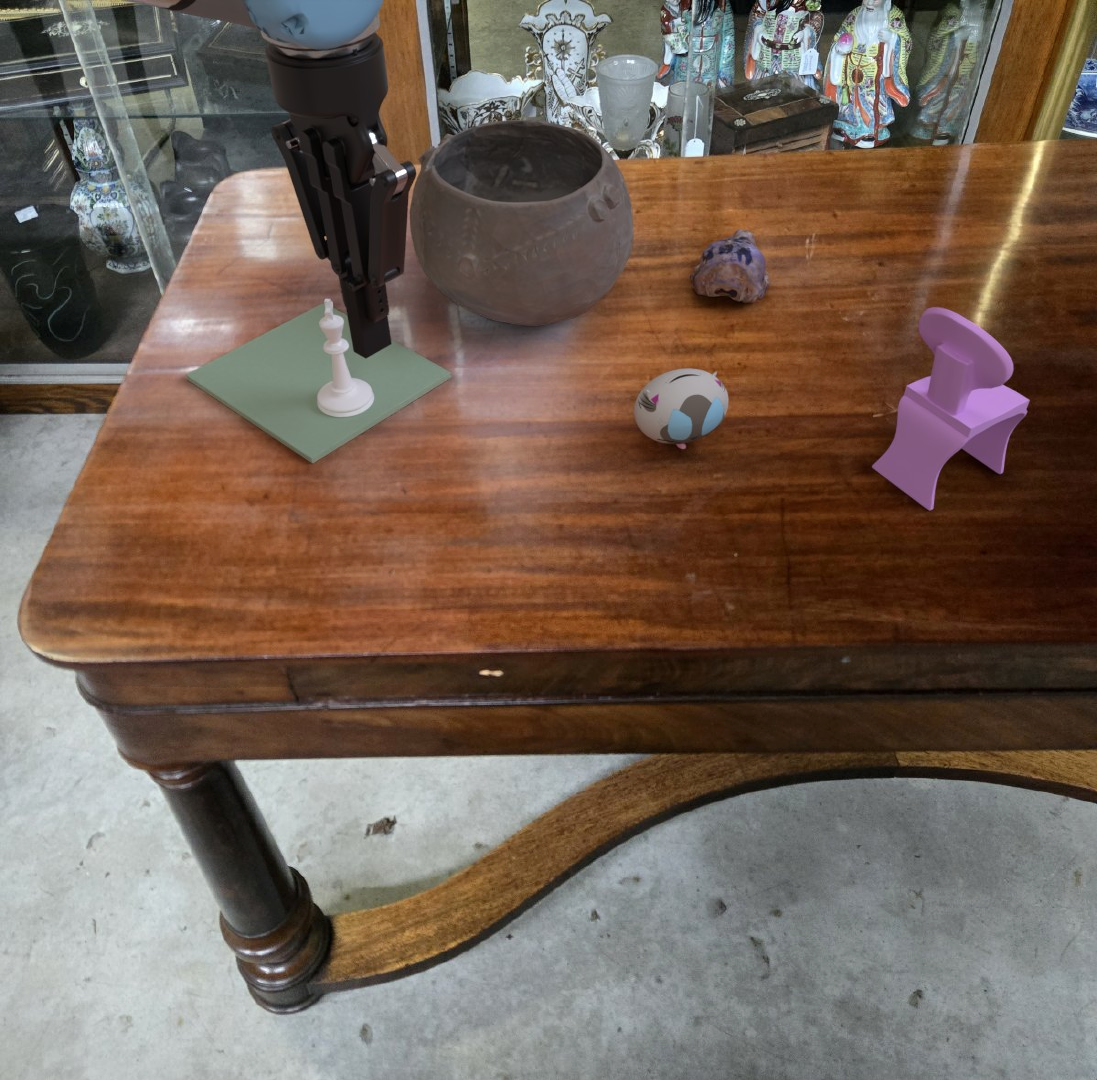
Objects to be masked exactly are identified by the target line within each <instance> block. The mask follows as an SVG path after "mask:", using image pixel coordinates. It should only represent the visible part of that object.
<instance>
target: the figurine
mask: <svg viewBox="0 0 1097 1080" xmlns="http://www.w3.org/2000/svg"><path fill="white" fill-rule="evenodd" d="M717 374H718V371H714V372H713V373H711V372H708V371H706V370H703V369H699V368H691V367H687V368H685V367H684V368H677V369H673V370H669V371H667V372H664V373H662V374H660V375H658V376H655V377H654V378H653V379H651V380H650V381H649V382H648V383H646V384H645V386H643V388H642V389H641V391H640V392H639V393H638V395H637V397H636V399H635V403H634V408H633V414H634V417H633V418H634V421H635V423H636V425H637V427H638V429H639V430H640V431H641V433H643V435H645V436H646V437H648V438H649V439H651V440H653V441H655V442H658V443H661V444H668V445H676V446H677V448H679V449H681V450H684V449H685V450H686V448H687V445H686V444H688V443H692V442H693V443H694V442H696V441H698V440H701V439H702V438H704V437H706V436H708V435H709V434H711V433H712V432H714V431H715V430H716V429H717V428H718V427H719V426H720V424H721V423H722V422H723V420H724V419H725V417H726V416H727V412H728V409H729V404H730V403H729V401H730V400H729V393H728V390H727V388H726V386H725V385H724V383H723V382H722V381H721V380H720V379H719V378H718V376H717Z"/></svg>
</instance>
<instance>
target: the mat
mask: <svg viewBox="0 0 1097 1080" xmlns="http://www.w3.org/2000/svg"><path fill="white" fill-rule="evenodd" d="M325 309H326V308H325V303H324V302H322V303H320V304H318V305H317V306H315V307H313V308H310V309H308V310H307V311H305V312H302V313H301V314H299V315H297V316H295V317H293V318H291V319H289V320H288V321H286V322H283V323H281V324H280V325H278V326H276V327H274V328H272V329H270V330H268V331H267V332H265V333H263V334H260V335H258V336H257V337H255V338H253V339H251V340H249V341H247V342H246V343H244V344H242V345H240V346H238V347H236V348H234V349H232V350H230V351H228V352H226V353H224V354H223V355H220V356H218V357H217V358H214V359H212V360H210V361H209V362H207V363H205V364H203V365H201V366H200V367H198V368H196V369H194V370H192V371H190V372H188V373H186V374H185V376H186V377H185V378H186V380H187V381H189V382H190V383H192V384H193V385H194V386H196V387H198V388H199V389H200V390H201V391H203V392H204V393H206V394H208V395H209V396H211V397H212V398H214V399H215V400H217V401H218V402H220V403H221V404H222V405H224V406H226V407H227V408H229V409H230V410H231V411H233V412H234V413H236V414H238V416H240V417H242V418H243V419H245V420H246V421H248V422H250V423H251V424H253V425H254V426H255V427H257V428H259V429H260V430H261V431H263V432H265V433H266V434H267V435H268V436H270V437H272V438H274V439H275V440H276V441H277V442H280V443H281V444H283V445H284V446H285V447H287V448H288V449H290V450H291V451H293V452H294V453H295V454H296V455H299V456H300V457H301V458H303V459H305V460H306V461H308V463H311V464H312V465H313V464H315V463H316V462H318V461H320V460H322V459H323V458H324V457H326V456H328V455H329V454H331V453H333V452H335V451H336V450H337V449H339V448H340V447H342V446H344V445H345V444H347V443H349V442H350V441H352V440H353V439H355V438H357V437H358V436H360V435H361V434H363V433H365V432H366V431H367V430H368V431H369V429H371V428H373V427H374V426H376V425H378V424H379V423H381V422H382V421H384V420H386V419H388V418H389V417H390V416H393V415H394V414H395V413H397V412H398V411H400V410H402V409H403V408H405V407H407V406H408V405H410V404H411V403H413V402H415V401H416V400H418V399H420V398H421V397H422V396H425V394H427V393H429V392H430V391H432V390H434V389H436V388H437V387H439V386H440V385H442V384H443V383H445V382H447V381H449V380H450V379H452V372H451V371H450V370H448V369H446V368H444V367H442V366H440V365H439V364H437V363H435V362H434V361H431V360H429V359H428V358H427V357H424V356H422V355H421V354H419V353H417V352H415V351H413V350H411V349H410V348H407V347H406V346H404V345H402V344H400V343H399V342H397V341H395V340H393V339H391V345H389V346H387V347H386V348H384V349H382V350H380V351H379V352H377V353H375V354H373V355H372V356H370V357H368V358H366V359H365V358H364V357H362V356H360V355H359V354H357V353H355V352H354V351H353V345H352V339H351V334H350V328H349V322H348V316H347V313H344V312H342V311H340V310H339V309H336V308H335V307H333V310H332V311H333V315H338V316H340V317H342V318H343V320H344V326H343V330H342V336H341V338H343V339H345V340H346V341H347V342H348V344H349V348H348V349H347V350H346V351H345V352H343V354H344V357H345V361H346V364H347V367H348V370H349V373H350V376H351V378H357V379H360V380H363V381H365V382H367V383H368V384H369V385H370V386H371V388H372V392H373V394H374V401H373V403H372V405H371V406H370V407H369V408H368V409H367V410H366V411H364V412H362V413H360V414H358V415H355V416H350V417H333V416H329V415H327V414H325V413H323V412H322V411H321V410H320V409H319V407H318V404H317V401H318V400H317V395H318V392H319V390H320V389H321V388H322V387H323V386H324V385H326V384H327V383H329V382H331V381H333V373H332V355H331V354H328V353H326V352H325V351H324V350H323V346H324V343H325V342H326V341H327V340H328V339H327V338H326V336H325V334H324V332H323V331H322V329H321V328H320V325H319V321H320V320H321V319H322V318H323V317H325Z"/></svg>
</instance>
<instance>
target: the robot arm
mask: <svg viewBox="0 0 1097 1080" xmlns="http://www.w3.org/2000/svg"><path fill="white" fill-rule="evenodd" d="M121 1H123V2H128V3H133V4H138V5H145V6H149V7H155V8H159V9H164V10H167V11H170V12H174V13H179V14H183V15H187V16H194V17H199V18H203V19H209V20H213V21H215V20H216V21H219V22H226V23H230V24H235V25H240V26H245V27H248V28H251V29H255V30H258V31H260V34H261V36H262V38H263V39H264V41H266V42H267V46H266V48H265V51H264V52H265V58H266V63H267V67H268V73H269V78H270V82H271V87H272V92H273V98H274V101H275V103H276V104H277V105H278V106H279V108H280V109H282V110H283V111H285V112H287V113H288V115H289V119H288V120H286V121H284V122H281V123H279V124H275V125H273V126H272V127H271V128H270V133H271V136H272V139H273V140H274V143H275V144H276V146H277V149H278V150H279V152H280V154H281V156H282V158H283V160H284V162H285V165H286V168H287V171H288V174H289V178H290V180H291V184H292V187H293V189H294V192H295V195H296V199H297V201H298V202H297V203H298V204H299V208H300V210H301V214H302V216H303V220H304V222H305V227H306V229H307V231H308V234H309V238H310V240H311V244H312V247H313V250H314V253H315V255H316V256H317V258H319V260H320V261H324V260H326V259H327V260H328V261H329V262H330V266H331V269H332V271H333V272H334V273H335V275H337V276H338V281H339V288H340V293H341V298H342V302H343V305H344V307H345V310H346V311H345V312H346V315H347V316H348V322H349V328H350V334H351V339H352V345H353V351H354V352H355V353H357V354H359V355H360V356H362V357H364V358H365V359H366V358H368V357H370V356H372V355H373V354H375V353H377V352H379V351H380V350H382V349H384V348H386V347H387V346H389V345H391V340H392V337H391V332H390V331H391V330H390V324H389V317H388V316H389V314H390V305H389V300H388V292H387V283H389V282H391V281H394V280H395V279H397V278H399V277H400V276H402V275H404V274H405V264H406V263H405V261H406V246H407V245H406V244H407V227H408V211H409V195H410V194H409V193H410V190H411V189H412V186H413V184H414V182H415V181H416V178H417V169H416V167H415V165H414V163H413V162H412V161H410V160H405V161H403V162H401V163H399V162H398V160H397V159H396V157H394V155H393V154H392V153H391V151H390V150H389V149H388V148H387V147H388V136H387V132H386V130H385V127H384V126H383V122H382V119H381V116H380V109H381V107H382V104H383V102H384V100H385V98H386V97H387V95H388V92H389V82H388V73H387V66H386V65H387V64H386V57H385V49H384V42H383V39H382V38H381V36H380V35H378V33H377V31H378V30H379V28H380V25H381V22H380V21H381V20H380V13H379V12H380V11H381V8H382V6H383V3H384V1H385V0H121Z"/></svg>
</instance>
